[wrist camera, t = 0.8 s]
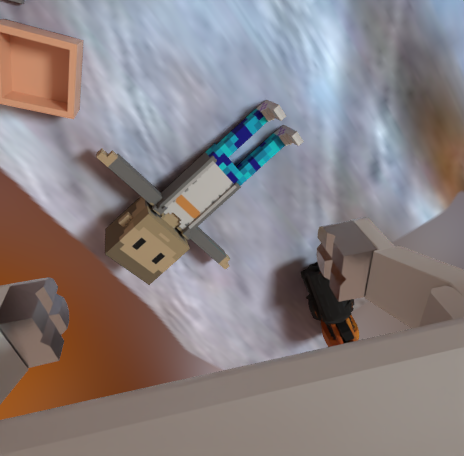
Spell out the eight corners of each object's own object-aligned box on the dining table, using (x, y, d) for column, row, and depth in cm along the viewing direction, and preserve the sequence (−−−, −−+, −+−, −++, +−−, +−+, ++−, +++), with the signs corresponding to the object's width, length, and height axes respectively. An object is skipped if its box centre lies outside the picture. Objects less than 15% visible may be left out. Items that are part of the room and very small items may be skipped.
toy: (336, 189, 53) (190, 315, 56) (311, 172, 60) (182, 286, 63) (231, 34, 39) (44, 214, 42) (213, 34, 45) (53, 190, 49)
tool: (318, 237, 73) (345, 260, 58) (353, 328, 78) (385, 370, 63) (282, 252, 73) (300, 279, 58) (319, 342, 78) (343, 387, 64)
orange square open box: (3, 18, 38) (-11, 21, 35) (83, 40, 40) (77, 44, 37) (7, 94, 42) (-6, 102, 39) (79, 109, 44) (73, 119, 41)
